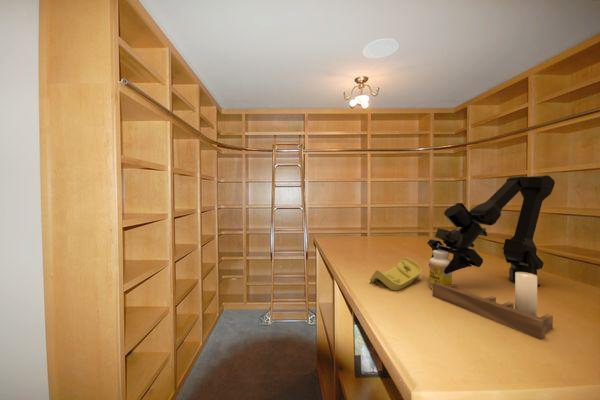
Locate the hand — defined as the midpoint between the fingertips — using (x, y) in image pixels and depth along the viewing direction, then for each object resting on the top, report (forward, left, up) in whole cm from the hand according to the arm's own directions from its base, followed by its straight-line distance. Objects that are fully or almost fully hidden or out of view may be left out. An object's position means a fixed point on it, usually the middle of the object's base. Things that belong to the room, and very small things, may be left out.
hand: (436, 269), depth 80 cm
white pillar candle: (-16, +17, -7) cm, 24 cm away
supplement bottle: (-1, -1, -7) cm, 7 cm away
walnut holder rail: (-9, +13, -7) cm, 17 cm away
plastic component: (+12, -4, -7) cm, 14 cm away
